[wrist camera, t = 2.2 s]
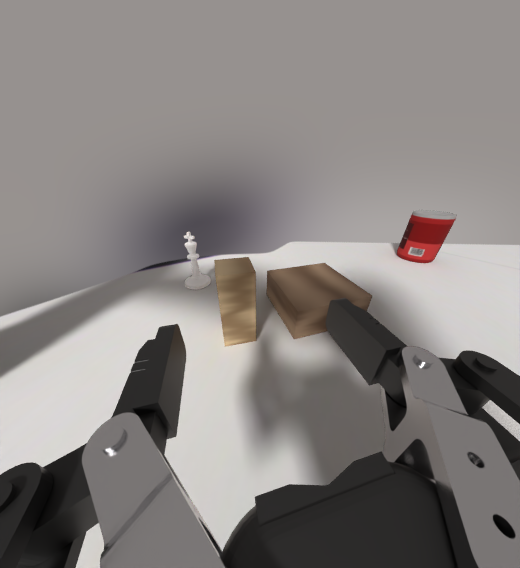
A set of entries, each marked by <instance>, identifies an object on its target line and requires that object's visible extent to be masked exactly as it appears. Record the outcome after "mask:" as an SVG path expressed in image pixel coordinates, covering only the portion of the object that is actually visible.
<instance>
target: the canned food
mask: <svg viewBox="0 0 520 568" xmlns="http://www.w3.org/2000/svg"><path fill="white" fill-rule="evenodd" d="M456 216H457V215H455V214H453V213H448V212H440V211H428V210H418V211H414V212H413V213H412V215H411V218H410V220H409V223H408V225H407V228H406V230H405V233H404V235H403V238H402V240H401V243H400V245H399V248H398V250H397V255H398V256H399V257H400V258H402V259H405V260H408V261H412V262H418V263H429V262H432V261H433V260H434V259H435V257H436V255H437V253H438V251H439V250H440V248H441V246H442V244H443V242H444V240H445V238H446V236H447V234H448V233H449V231H450V229H451V227H452V225H453V223H454V221H455V219H456Z"/></svg>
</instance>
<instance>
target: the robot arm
mask: <svg viewBox="0 0 520 568" xmlns="http://www.w3.org/2000/svg"><path fill="white" fill-rule="evenodd" d="M326 328H327V330H328V332H329V333H330V335H331V336H332V337H333V339H334V340H335V341H336V343H337V344H338V345H339V346H340V348H341V349H342V350H343V352H344V353H345V354H346V356H347V357H348V358H349V359H350V361H351V362H352V363H353V365H354V366H355V367H356V369H357V370H358V371H359V372H360V374H361V375H362V376H363V378H364V379H365V380H366V382H367V383H368V384H369V385H373V384H376V383H380V384H381V386H382V388H381V399H382V408H383V416H384V425H385V443H384V447H383V453H382V452H379V453H376V454H373V455H370V456H368V457H365V458H362V459H359V460H356V461H354V462H353V463H351V464H350V465H349V466H348V467H347V468H346V469H345V470H344V471H343V472H342V473H341V474H340V475H339V476H338V477H337V478H336V479H335V480H334V481H332V482H331V483H330V484H329V485H326V486H320V485H292V484H289V485H287V486H284V487H281V488H278V489H275V490H273V491H270V492H267V493H264V494H261V495H259V496H256V497H255V503H256V506H255V507H253V508H252V509H251V510H250V511H249V512H248V513H247V514H246V515H245V516H244V517H243V518H242V519H241V521H240V522H239V523H238V525H237V526H236V528H235V529H234V530H233V532H232V534H231V536H230V537H229V539H228V541H227V543H226V545H225V547H224V549H223V551H222V550H221V548H220V546H219V545H218V543H217V541H216V540H215V538H214V536H213V535H212V533H211V531H210V530H209V528H208V526H207V525H206V523H205V521H204V520H203V518H202V516H201V515H200V513H199V511H198V510H197V508H196V507H195V505H194V504H193V502H192V500H191V499H190V497H189V495H188V494H187V492H186V490H185V489H184V487H183V485H182V483H181V482H180V480H179V478H178V477H177V475H176V473H175V472H174V470H173V468H172V467H171V465H170V463H169V462H168V460H167V458H166V457H165V455H164V453H165V447H166V440H167V439H169V438H173V437H176V435H177V427H178V419H179V411H180V403H181V395H182V387H183V379H184V371H185V363H186V349H185V345H184V341H183V338H182V335H181V332H180V328H179V326H178V324H175V325H169V326H162V327H159V329H158V332H157V335H156V338H155V339H153V340H148V341H147V342H146V343H145V344H144V345H143V346H142V348H141V349H140V350H139V352H138V354H137V357H136V359H135V364H133V367H132V369H131V373H130V374H129V377H128V379H127V381H126V384H125V386H124V389H123V391H122V394H121V396H120V399H119V401H118V404H117V406H116V409H115V411H114V413H113V416H112V417H111V419H109V420H108V421H106V422H105V423H104V424H103V425H101V426H100V427H99V428H98V429H97V430H96V431H95V433H94V434H93V435H92V436H91V438H90V439H89V441H88V443H86V444H85V445H83V446H81V447H80V448H78V449H76V450H74V451H72V452H70V453H69V454H67V455H65V456H63V457H61V458H59V459H58V460H56V461H54V462H52V463H50V464H48V465H47V466H45V467H41V466H39V465H38V464H36V463H24V464H20V465H18V466H15V467H13V468H11V469H9V470H7V471H6V472H4V473H2V474H1V475H0V568H75V567H76V564H77V561H78V557H79V554H80V551H81V548H82V544H83V541H84V538H85V535H86V531H88V530H89V529H90V528H92V527H93V526H94V525H96V524H97V523H99V524H100V528H101V531H102V535H103V539H104V551H103V552H102V554H101V558H100V568H520V441H518V440H517V439H516V438H515V437H514V436H513V435H512V434H511V433H509V432H508V431H507V430H506V429H505V428H504V427H503V426H502V425H501V424H499V423H498V422H497V421H496V420H495V419H494V418H493V417H492V416H490V415H489V414H488V413H487V412H486V411H485V410H484V409H483V408H481V407H483V406H484V405H485V404H486V403H487V402H488V401H489V400H491V401H493V402H494V403H495V404H496V405H497V406H499V407H500V408H501V409H502V410H503V411H505V412H506V413H507V414H508V415H509V416H511V417H512V418H513V419H514V420H515V421H517V422H518V423H519V424H520V376H519V375H517V374H516V373H514V372H513V371H511V370H510V369H508V368H507V367H505V366H504V365H502V364H501V363H499V362H498V361H496V360H494V359H493V358H491V357H489V356H486V355H484V354H481V353H478V352H475V351H462V352H461V353H460V354H459V356H458V357H457V358H456V359H446V358H438V357H436V356H435V355H434V354H432V353H430V352H429V351H427V350H425V349H422V348H419V347H414V346H406V345H405V344H404V343H403V342H402V341H401V340H399V339H398V338H397V337H396V336H395V335H394V334H392V333H391V332H390V331H389V330H388V329H387V328H385V327H384V326H383V325H382V324H380V322H378V321H377V320H376V319H374V318H373V317H372V316H371V315H370V314H369V313H368V312H367V311H365V310H363V309H362V308H360V307H358V306H355V305H354V304H352V303H351V302H350V301H349V300H348V299H346V298H341V299H335V300H331V301H330V303H329V308H328V312H327V317H326Z"/></svg>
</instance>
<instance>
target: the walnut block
mask: <svg viewBox="0 0 520 568" xmlns="http://www.w3.org/2000/svg"><path fill="white" fill-rule="evenodd" d="M267 296H268V297H269V299H270V301H271V302H272V304H273V306H274V307H275V309H276V311H277V312H278V314H279V316H280V317H281V319H282V320H283V322H284V324H285V325H286V327H287V329H288V330H289V332H290V334H291V335H292V337H293V339H297V338H301V337H305V336H309V335H313V334H317V333H321V332H326V331H328V330H327V328H326V317H327V312H328V308H329V303H330V301H331V300H335V299H341V298H346V299H348V300H349V301H350V302H351V303H352V304H354V305H355V306H358V307H360V308H362V309H363V310H365V311H367V309H368V306H369V304H370V301H371V298H372V295H370V294H369V293H367V292H366V291H364V290H363V289H362V288H360V287H359V286H357V285H356V284H354V283H353V282H351V281H350V280H348V279H347V278H346V277H344V276H343V275H341V274H340V273H338V272H337V271H335V270H334V269H332V268H331V267H330V266H328V265H327V264H325V263H321V264H313V265H306V266H299V267H292V268H285V269H277V270H270V271H267Z"/></svg>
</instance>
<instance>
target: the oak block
mask: <svg viewBox="0 0 520 568" xmlns="http://www.w3.org/2000/svg"><path fill="white" fill-rule="evenodd" d="M214 262H215V276H216V284H217V291H218V299H219V306H220V313H221V321H222V328H223V335H224V343H225V346H231V345H236V344H242V343H247V342H253V341H256V272H255V270H254V268H253V266H252V263H251V261H250V259H249V257H244V258H233V259H222V260H214Z"/></svg>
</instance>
